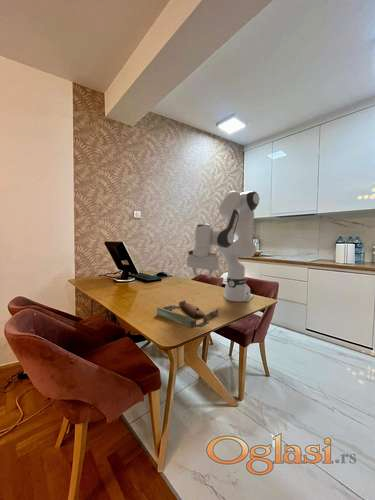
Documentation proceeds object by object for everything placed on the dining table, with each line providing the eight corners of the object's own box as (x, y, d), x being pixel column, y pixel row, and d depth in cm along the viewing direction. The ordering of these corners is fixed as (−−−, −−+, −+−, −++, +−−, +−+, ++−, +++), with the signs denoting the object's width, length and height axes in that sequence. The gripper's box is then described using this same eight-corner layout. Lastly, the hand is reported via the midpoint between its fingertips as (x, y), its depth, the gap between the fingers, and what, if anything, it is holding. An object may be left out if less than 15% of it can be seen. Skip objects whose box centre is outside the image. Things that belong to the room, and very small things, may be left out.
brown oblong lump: (209, 317, 114) (203, 307, 112) (198, 325, 112) (192, 315, 110) (194, 306, 130) (188, 297, 129) (184, 314, 128) (179, 305, 126)
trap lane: (184, 305, 133) (184, 298, 133) (218, 314, 118) (218, 307, 118) (156, 315, 117) (156, 307, 116) (192, 327, 101) (192, 319, 101)
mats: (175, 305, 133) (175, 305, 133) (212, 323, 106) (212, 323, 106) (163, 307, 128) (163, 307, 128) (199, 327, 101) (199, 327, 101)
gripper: (221, 253, 120) (220, 278, 121) (192, 251, 133) (192, 273, 134) (215, 253, 115) (214, 280, 116) (185, 251, 129) (185, 275, 129)
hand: (202, 276), depth 125 cm, fingers open, 8 cm apart
